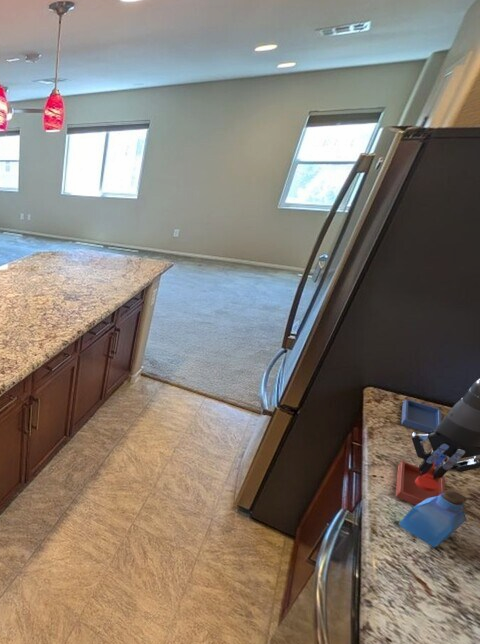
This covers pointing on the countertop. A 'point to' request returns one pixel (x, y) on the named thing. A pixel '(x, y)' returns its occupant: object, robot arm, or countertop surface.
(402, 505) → the countertop surface
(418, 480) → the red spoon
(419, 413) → the blue tray
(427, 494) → the red tray
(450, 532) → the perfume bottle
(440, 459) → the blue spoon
